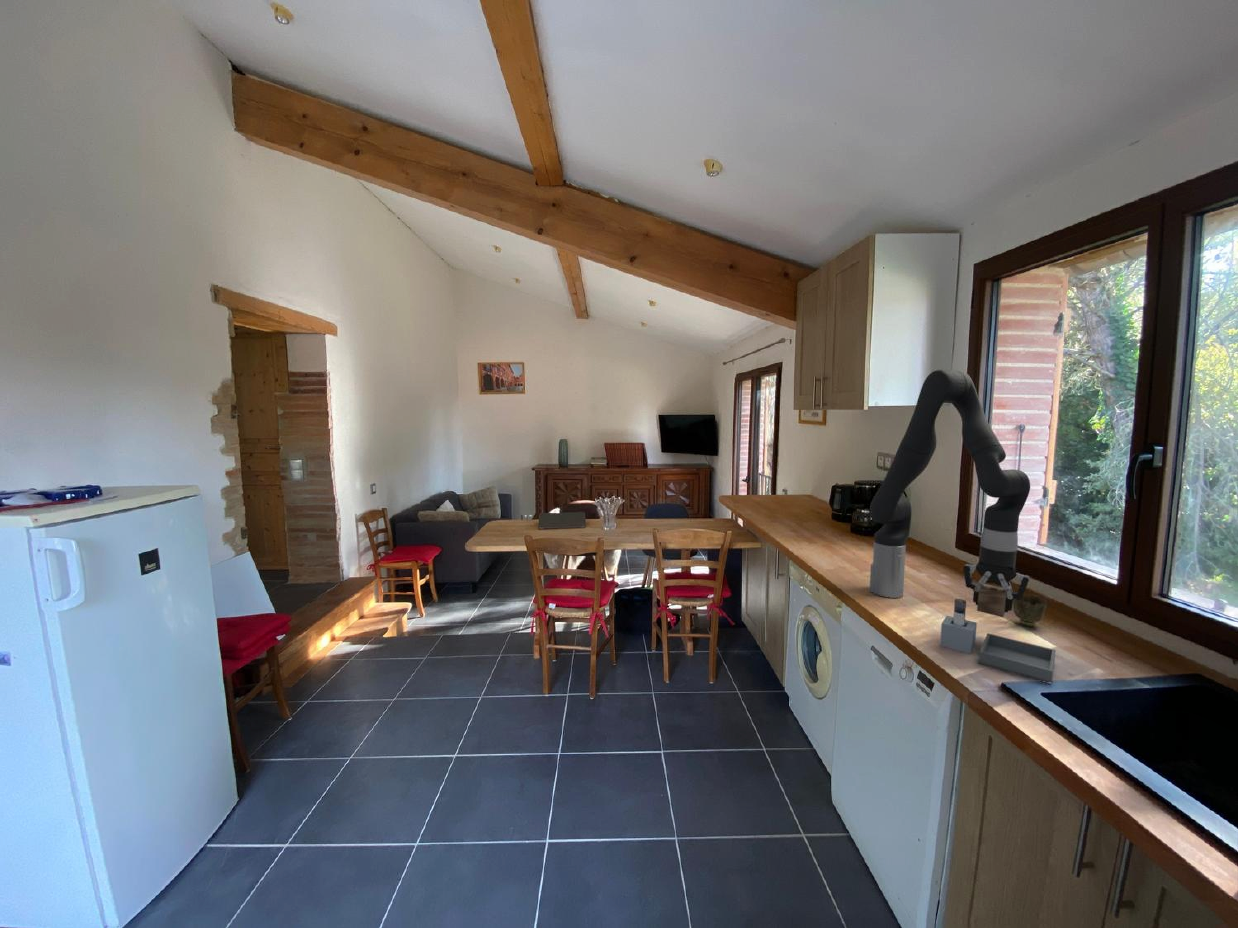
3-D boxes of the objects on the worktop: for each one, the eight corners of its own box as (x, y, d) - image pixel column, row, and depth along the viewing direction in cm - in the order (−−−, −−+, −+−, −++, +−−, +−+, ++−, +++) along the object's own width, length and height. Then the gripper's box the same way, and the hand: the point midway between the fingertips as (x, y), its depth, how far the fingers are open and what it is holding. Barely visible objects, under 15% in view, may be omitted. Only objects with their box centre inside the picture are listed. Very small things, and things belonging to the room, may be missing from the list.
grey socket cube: (940, 645, 126) (941, 623, 126) (945, 636, 131) (946, 615, 130) (970, 653, 122) (972, 630, 121) (975, 644, 126) (976, 622, 126)
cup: (1041, 622, 139) (1043, 595, 138) (1047, 633, 132) (1050, 604, 132) (1008, 617, 142) (1010, 591, 142) (1013, 627, 136) (1015, 599, 135)
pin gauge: (951, 645, 126) (953, 600, 125) (952, 641, 128) (955, 597, 127) (962, 648, 125) (965, 603, 123) (963, 644, 126) (966, 600, 125)
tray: (978, 663, 117) (979, 651, 117) (986, 644, 127) (987, 633, 126) (1051, 684, 108) (1052, 671, 108) (1054, 661, 118) (1055, 649, 117)
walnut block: (976, 610, 129) (979, 589, 128) (980, 604, 132) (982, 583, 132) (1003, 617, 125) (1005, 594, 124) (1006, 610, 129) (1008, 588, 128)
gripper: (962, 543, 129) (956, 604, 131) (1033, 555, 119) (1025, 621, 121) (967, 537, 134) (961, 596, 136) (1035, 548, 124) (1028, 611, 126)
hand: (991, 607), depth 128 cm, fingers closed on walnut block, 5 cm apart
